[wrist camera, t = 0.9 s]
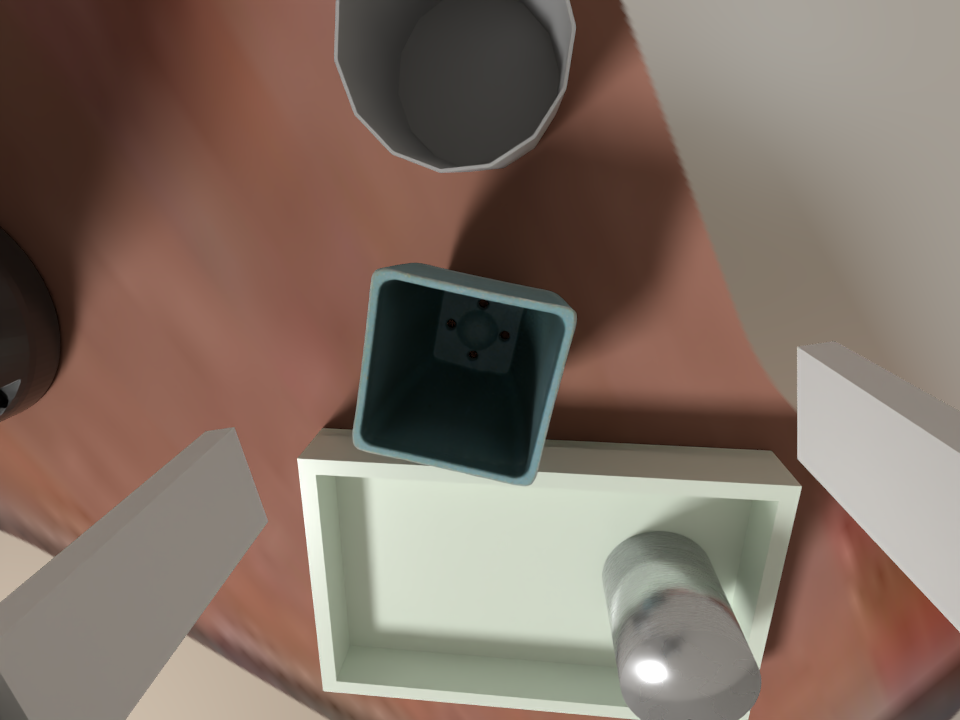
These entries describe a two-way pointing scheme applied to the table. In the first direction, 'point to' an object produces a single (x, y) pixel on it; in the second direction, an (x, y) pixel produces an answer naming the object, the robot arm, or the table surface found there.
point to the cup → (455, 75)
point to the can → (676, 632)
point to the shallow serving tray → (520, 564)
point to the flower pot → (460, 371)
